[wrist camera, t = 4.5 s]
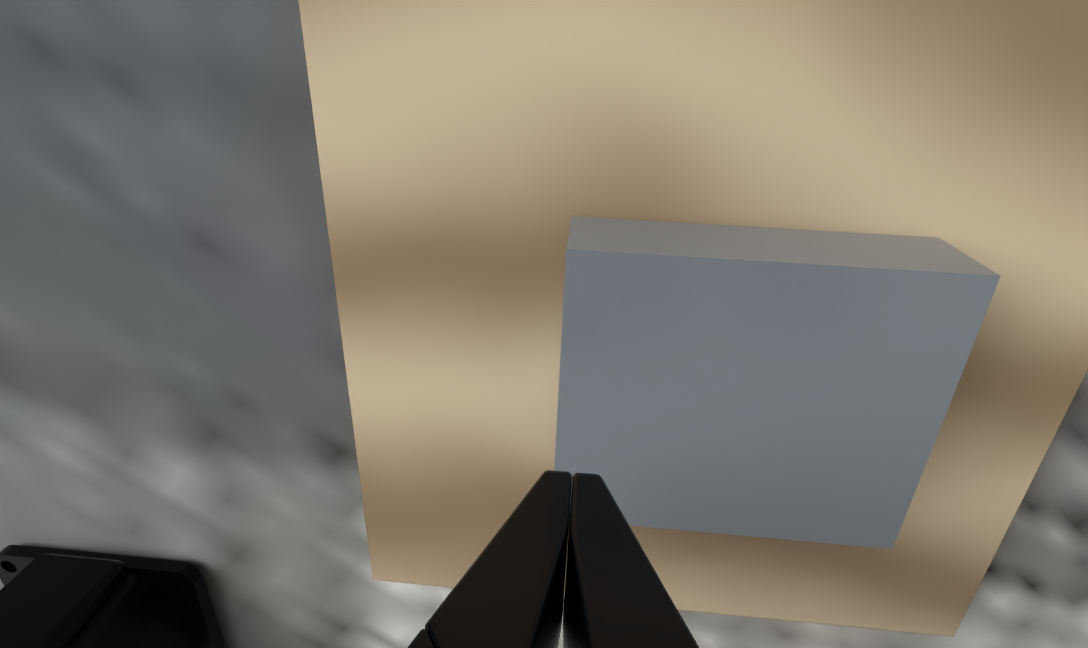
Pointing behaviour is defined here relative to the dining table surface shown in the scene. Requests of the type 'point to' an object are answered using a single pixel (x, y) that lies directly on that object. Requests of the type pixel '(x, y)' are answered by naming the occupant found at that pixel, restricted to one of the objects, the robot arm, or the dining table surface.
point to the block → (761, 373)
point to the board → (704, 198)
